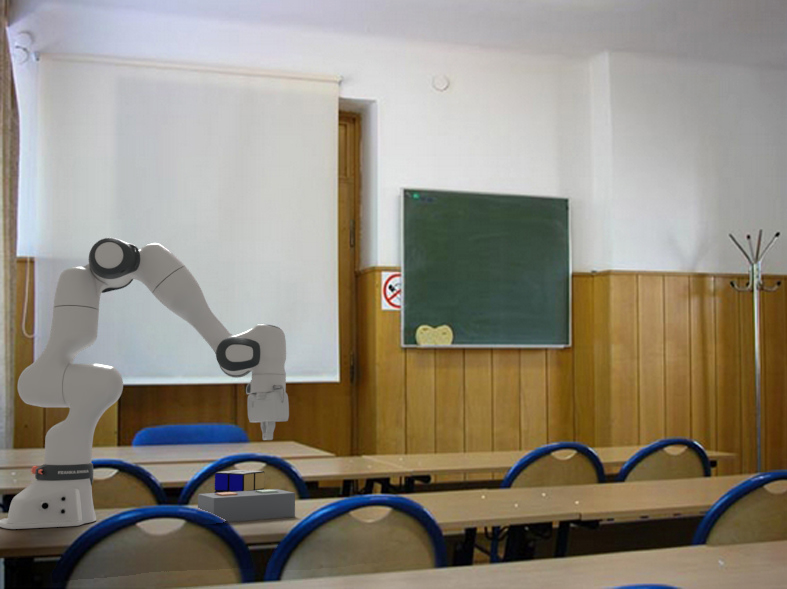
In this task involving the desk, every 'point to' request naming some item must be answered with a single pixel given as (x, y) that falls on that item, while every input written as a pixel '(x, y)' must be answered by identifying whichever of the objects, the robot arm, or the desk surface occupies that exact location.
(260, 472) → the puzzle cube
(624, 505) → the desk surface
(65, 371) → the robot arm
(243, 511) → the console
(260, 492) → the pale green block
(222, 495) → the salmon orange block
